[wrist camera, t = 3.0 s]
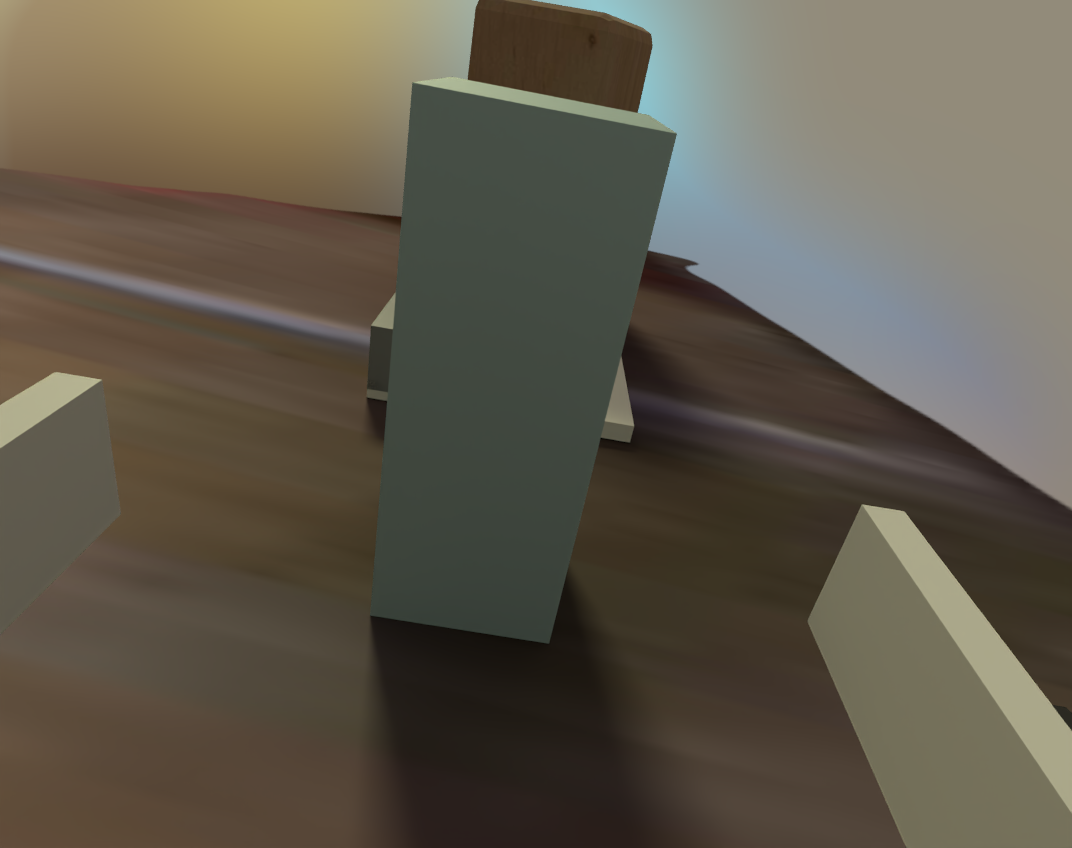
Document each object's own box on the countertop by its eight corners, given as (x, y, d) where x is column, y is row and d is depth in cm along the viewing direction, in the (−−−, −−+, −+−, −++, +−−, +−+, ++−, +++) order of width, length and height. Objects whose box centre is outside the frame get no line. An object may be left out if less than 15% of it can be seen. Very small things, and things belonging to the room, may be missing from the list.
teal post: (370, 615, 23) (412, 82, 15) (407, 510, 28) (452, 76, 20) (549, 643, 23) (677, 133, 15) (552, 534, 28) (648, 115, 21)
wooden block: (553, 323, 51) (614, 13, 41) (439, 286, 54) (471, -11, 44) (600, 295, 59) (659, 31, 50) (498, 264, 62) (536, 10, 53)
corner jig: (366, 397, 36) (371, 325, 34) (418, 310, 48) (423, 254, 46) (629, 442, 36) (648, 374, 34) (613, 345, 49) (626, 291, 47)
